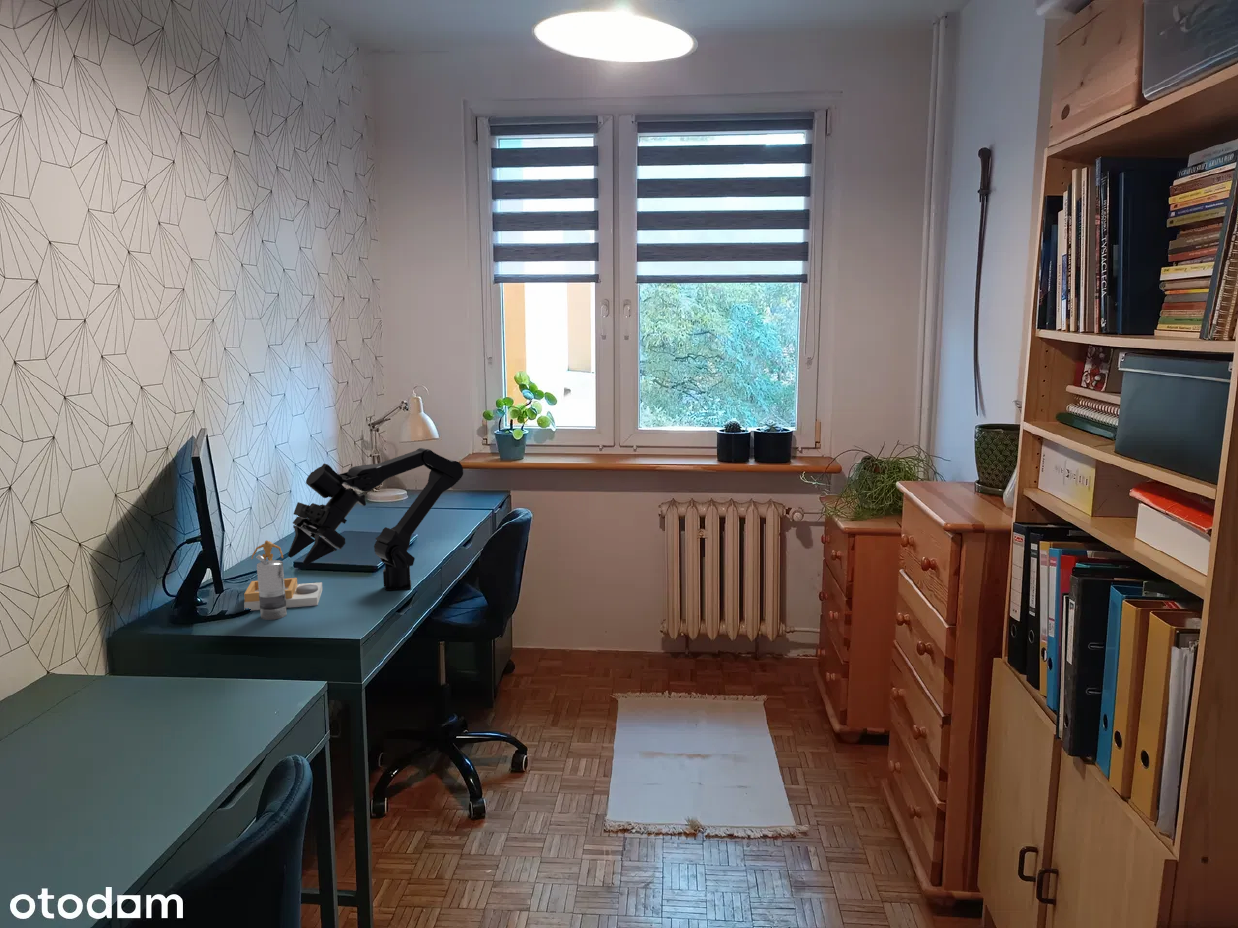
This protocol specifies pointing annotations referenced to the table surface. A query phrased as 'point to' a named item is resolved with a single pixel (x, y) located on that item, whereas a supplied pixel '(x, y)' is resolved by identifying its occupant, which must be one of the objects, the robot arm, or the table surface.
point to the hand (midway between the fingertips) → (296, 560)
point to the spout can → (271, 589)
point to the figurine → (268, 550)
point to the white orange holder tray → (287, 594)
